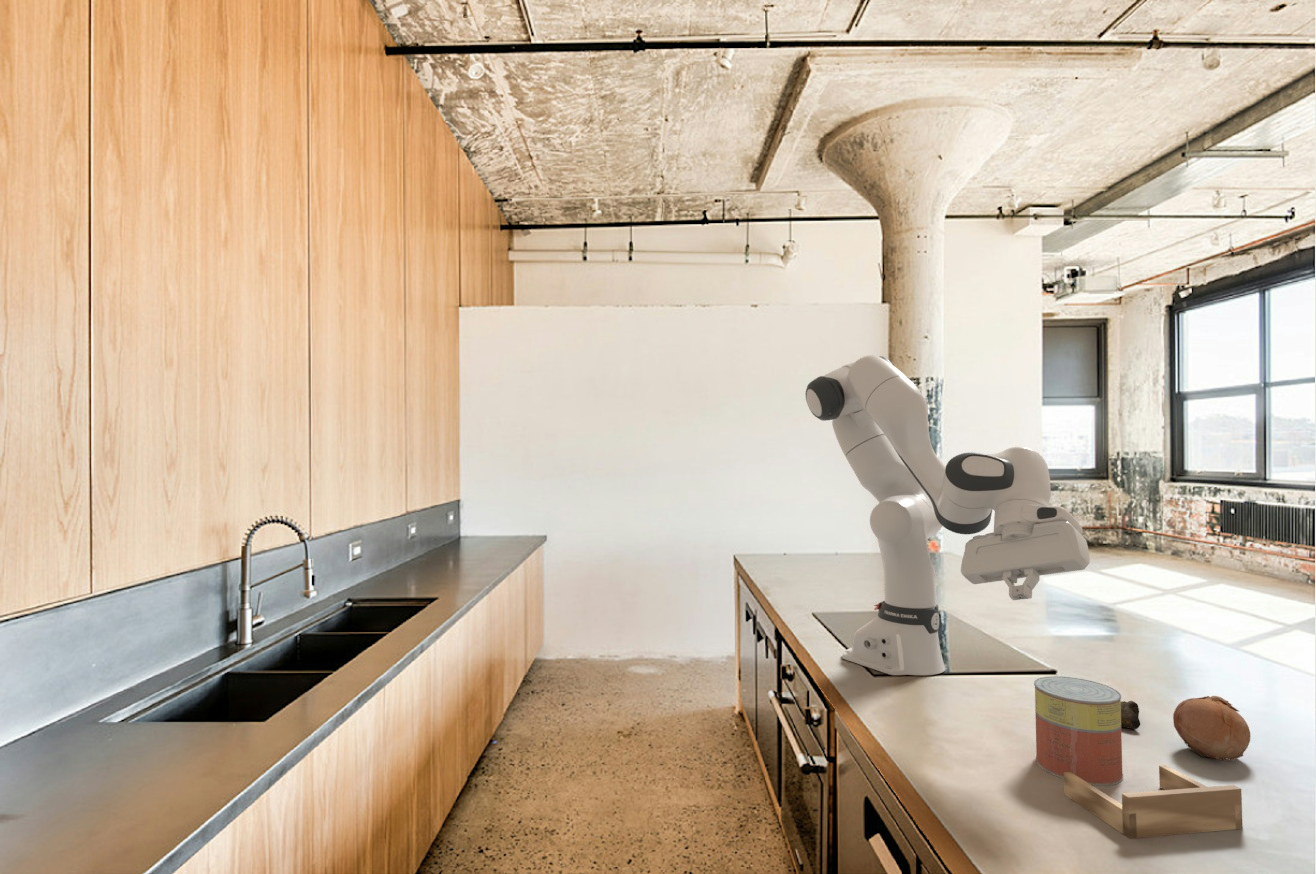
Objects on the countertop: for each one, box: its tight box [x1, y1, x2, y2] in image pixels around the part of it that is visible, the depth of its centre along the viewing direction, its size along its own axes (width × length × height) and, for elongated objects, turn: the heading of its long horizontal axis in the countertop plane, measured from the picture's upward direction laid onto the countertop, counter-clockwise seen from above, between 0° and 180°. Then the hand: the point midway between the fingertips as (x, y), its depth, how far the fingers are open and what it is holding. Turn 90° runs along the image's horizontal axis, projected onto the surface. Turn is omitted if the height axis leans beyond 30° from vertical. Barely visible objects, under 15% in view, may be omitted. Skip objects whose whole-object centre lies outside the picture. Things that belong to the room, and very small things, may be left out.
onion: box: [1172, 695, 1251, 762], centre depth 105 cm, size 10×9×10 cm
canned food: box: [1033, 676, 1124, 787], centre depth 101 cm, size 11×11×12 cm
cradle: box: [1063, 764, 1244, 839], centre depth 89 cm, size 11×16×5 cm
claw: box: [1121, 700, 1141, 730], centre depth 124 cm, size 20×10×3 cm, turn 12°
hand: (1020, 597), depth 109 cm, fingers closed
